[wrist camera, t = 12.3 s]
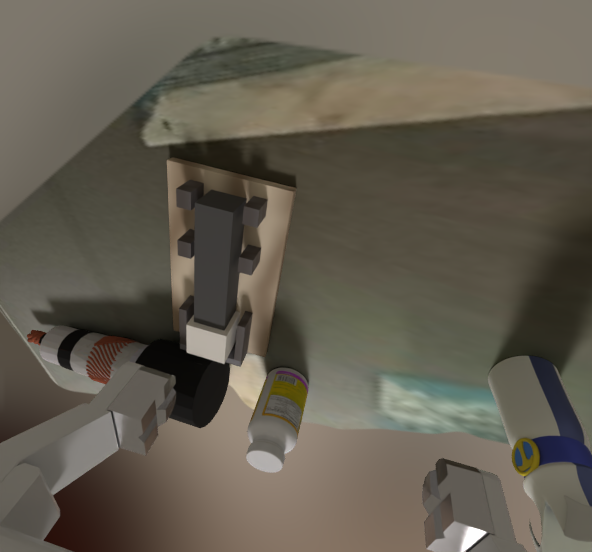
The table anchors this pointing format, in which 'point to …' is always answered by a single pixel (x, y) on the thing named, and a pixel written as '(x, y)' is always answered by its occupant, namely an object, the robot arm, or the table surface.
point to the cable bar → (216, 275)
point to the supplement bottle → (276, 419)
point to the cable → (158, 355)
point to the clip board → (255, 248)
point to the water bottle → (547, 449)
